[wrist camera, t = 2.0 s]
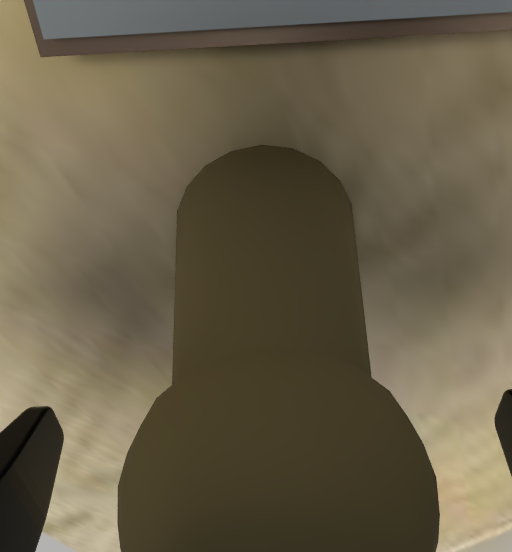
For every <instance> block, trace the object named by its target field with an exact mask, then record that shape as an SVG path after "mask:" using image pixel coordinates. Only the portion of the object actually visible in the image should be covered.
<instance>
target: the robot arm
mask: <svg viewBox="0 0 512 552" xmlns="http://www.w3.org/2000/svg"><path fill="white" fill-rule="evenodd" d="M495 427H496V431H497V434H498V437H499V440H500V443H501V446H502V449H503V452H504V455H505V458H506V461H507V464H508V467H509V470H510V473H511V476H512V389H509V390H506V391H505V392H504V394H503V396H502V399H501V401H500V404H499V407H498V409H497V412H496V414H495ZM63 441H64V435H63V430H62V428H61V426H60V424H59V422H58V420H57V417H56V415H55V413H54V411H53V409H52V408H50V407H48V406H41V407H30V408H28V409H26V410H25V411H24V412H23V413H22V414H20V415H19V416H18V417H17V418H16V419H15V420H14V421H13V422H12V423H10V424H9V425H8V426H7V427H6V428H5V429H4V430H3V431H2V432H0V552H35V551H36V547H37V544H38V542H39V539H40V536H41V533H42V530H43V526H44V523H45V520H46V516H47V512H48V508H49V504H50V500H51V495H52V491H53V486H54V482H55V478H56V473H57V469H58V464H59V460H60V455H61V451H62V446H63Z"/></svg>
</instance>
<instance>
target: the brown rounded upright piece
mask: <svg viewBox="0 0 512 552" xmlns="http://www.w3.org/2000/svg"><path fill="white" fill-rule="evenodd" d="M439 518H440V513H439V502H438V491H437V481H436V476H435V473H434V471H433V468H432V465H431V463H430V460H429V457H428V455H427V452H426V450H425V447H424V444H423V443H422V441H421V439H420V437H419V436H418V434H417V432H416V430H415V429H414V427H413V425H412V423H411V422H410V420H409V418H408V416H407V415H406V414H405V412H404V411H403V409H402V408H401V407H400V405H399V404H398V402H397V401H396V400H395V398H394V397H393V395H392V394H391V392H390V391H389V390H387V389H386V388H385V387H383V386H382V385H381V384H379V383H378V382H377V381H375V380H374V379H373V378H371V369H370V360H369V352H368V343H367V335H366V326H365V317H364V309H363V300H362V292H361V283H360V274H359V266H358V257H357V248H356V240H355V231H354V223H353V214H352V205H351V203H350V200H349V198H348V196H347V194H346V192H345V190H344V188H343V186H342V184H341V182H340V180H339V179H338V178H337V177H336V176H335V175H334V174H332V173H331V172H330V171H329V170H328V169H327V168H326V167H325V166H324V165H323V164H322V163H321V162H320V161H318V160H316V159H314V158H312V157H310V156H307V155H305V154H303V153H301V152H299V151H297V150H294V149H291V148H282V147H274V146H265V145H260V146H255V147H250V148H245V149H240V150H235V151H231V152H229V153H228V154H226V155H224V156H222V157H220V158H219V159H217V160H215V161H213V162H212V163H210V164H208V165H206V166H205V167H204V168H203V169H202V170H201V172H200V173H199V174H198V175H197V176H196V177H195V178H194V180H193V181H192V182H191V183H190V184H189V185H188V186H187V188H186V191H185V193H184V196H183V198H182V201H181V203H180V206H179V208H178V211H177V239H176V273H175V308H174V342H173V376H172V386H171V387H169V388H168V389H167V390H166V391H165V392H163V393H162V394H161V395H160V396H159V397H158V398H156V400H155V402H154V404H153V405H152V407H151V409H150V410H149V412H148V414H147V416H146V417H145V419H144V421H143V423H142V424H141V426H140V428H139V430H138V432H137V434H136V436H135V438H134V440H133V442H132V445H131V447H130V449H129V451H128V453H127V456H126V460H125V463H124V467H123V470H122V474H121V477H120V481H119V484H118V531H119V540H120V549H121V552H436V548H437V544H438V536H439Z"/></svg>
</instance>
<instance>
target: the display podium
mask: <svg viewBox="0 0 512 552" xmlns="http://www.w3.org/2000/svg"><path fill="white" fill-rule="evenodd" d="M24 2H25V5H26V9H27V12H28V16H29V19H30V22H31V26H32V29H33V33H34V36H35V39H36V43H37V46H38V50H39V53H40V57H52V56H69V55H86V54H104V53H121V52H138V51H155V50H173V49H190V48H207V47H225V46H242V45H259V44H277V43H294V42H311V41H329V40H346V39H363V38H381V37H398V36H415V35H433V34H450V33H467V32H485V31H502V30H512V0H24Z"/></svg>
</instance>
